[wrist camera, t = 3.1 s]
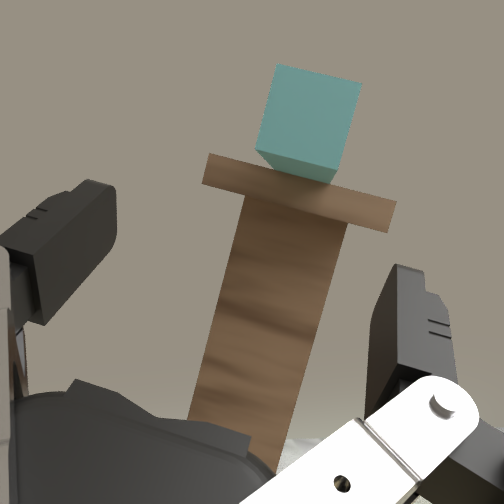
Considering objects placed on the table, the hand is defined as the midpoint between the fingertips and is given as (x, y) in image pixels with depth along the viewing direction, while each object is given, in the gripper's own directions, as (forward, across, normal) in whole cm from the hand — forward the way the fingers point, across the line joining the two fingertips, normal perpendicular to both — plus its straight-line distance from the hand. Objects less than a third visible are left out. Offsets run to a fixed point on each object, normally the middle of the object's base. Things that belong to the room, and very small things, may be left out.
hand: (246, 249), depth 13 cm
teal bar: (+18, 0, -7) cm, 20 cm away
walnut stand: (+8, 0, -38) cm, 39 cm away
